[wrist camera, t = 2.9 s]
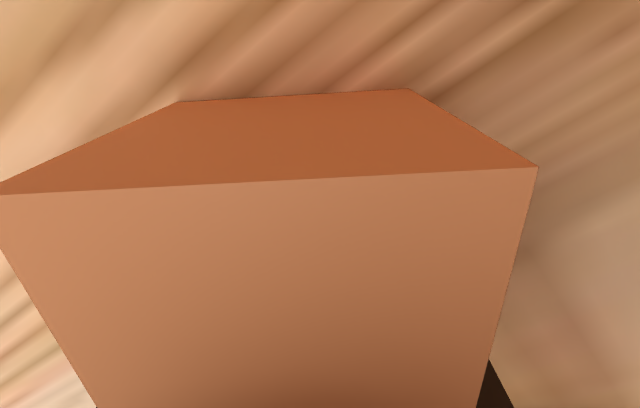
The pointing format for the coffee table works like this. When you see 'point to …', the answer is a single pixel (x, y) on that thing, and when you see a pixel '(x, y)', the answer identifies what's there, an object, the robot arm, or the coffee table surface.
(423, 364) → the brick
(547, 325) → the coffee table surface
